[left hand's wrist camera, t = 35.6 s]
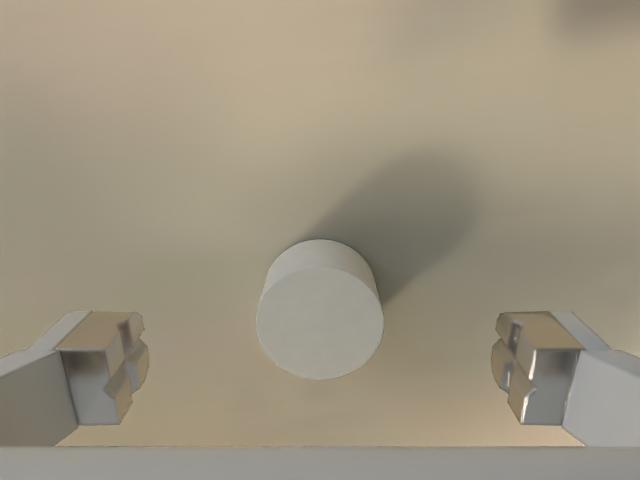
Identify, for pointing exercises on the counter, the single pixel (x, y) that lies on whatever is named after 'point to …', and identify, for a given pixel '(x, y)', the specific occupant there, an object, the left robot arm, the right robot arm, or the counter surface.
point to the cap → (319, 311)
